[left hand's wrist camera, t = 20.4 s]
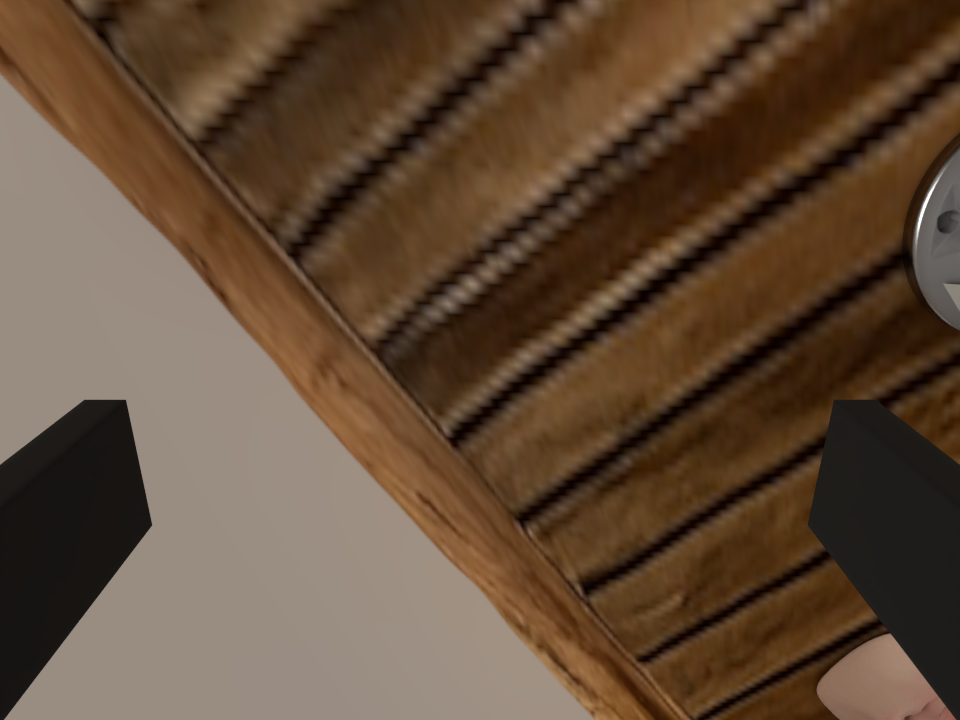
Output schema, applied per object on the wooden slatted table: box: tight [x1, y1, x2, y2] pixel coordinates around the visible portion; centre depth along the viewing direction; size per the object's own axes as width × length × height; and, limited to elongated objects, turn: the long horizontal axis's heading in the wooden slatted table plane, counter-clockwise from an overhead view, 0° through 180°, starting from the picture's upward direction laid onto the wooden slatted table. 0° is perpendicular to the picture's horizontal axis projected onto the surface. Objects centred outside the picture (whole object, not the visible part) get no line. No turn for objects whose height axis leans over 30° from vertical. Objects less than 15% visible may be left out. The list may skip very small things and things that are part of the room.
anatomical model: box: [817, 633, 956, 720], centre depth 55 cm, size 13×4×12 cm
